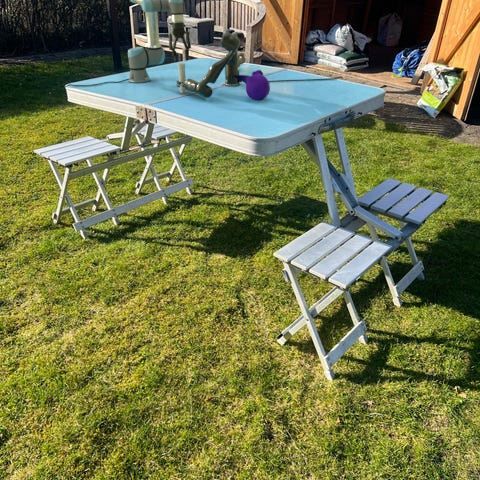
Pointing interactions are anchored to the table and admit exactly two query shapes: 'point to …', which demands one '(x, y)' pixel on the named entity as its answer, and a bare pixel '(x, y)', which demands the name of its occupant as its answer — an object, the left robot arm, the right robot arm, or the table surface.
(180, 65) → the lid
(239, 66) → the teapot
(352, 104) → the table surface
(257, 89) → the toy
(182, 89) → the pale green cylinder
